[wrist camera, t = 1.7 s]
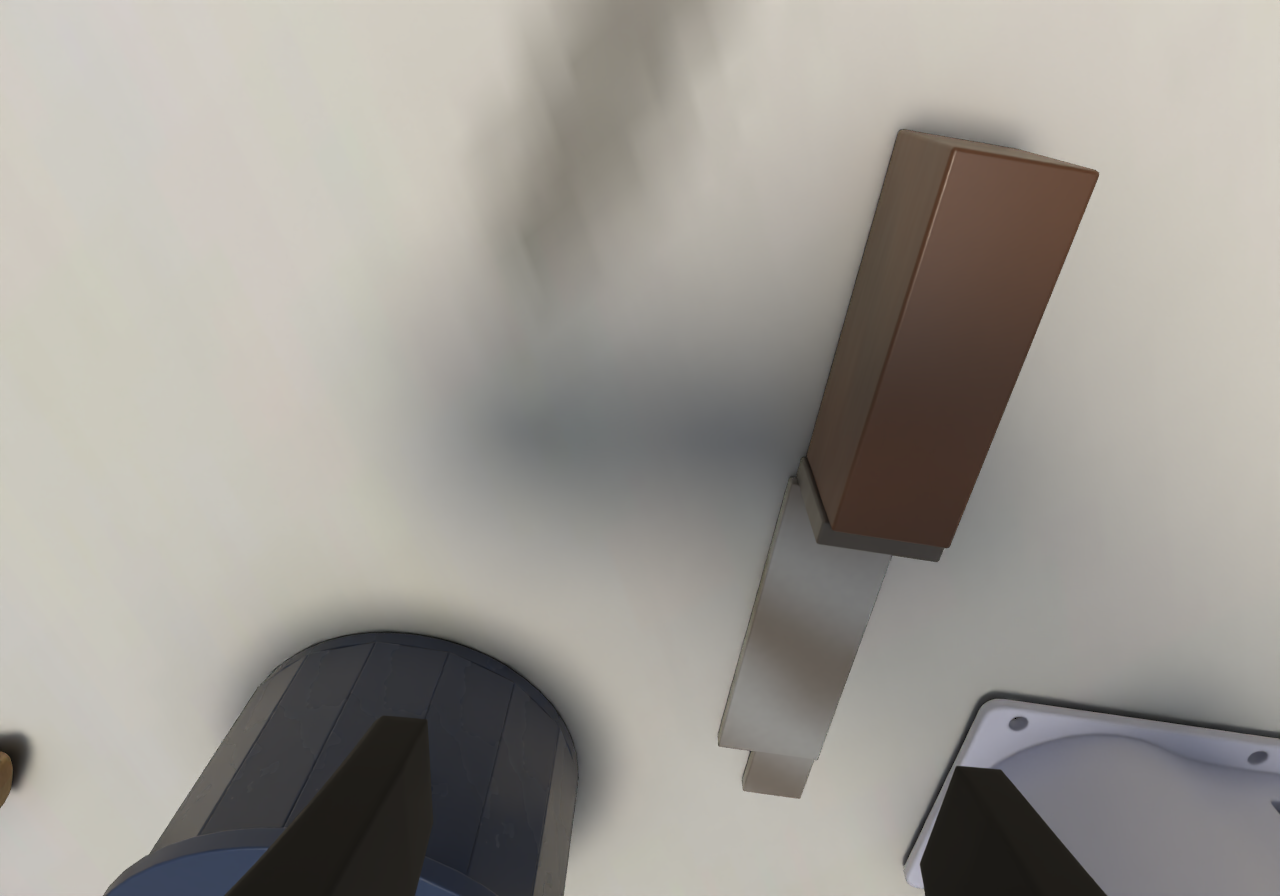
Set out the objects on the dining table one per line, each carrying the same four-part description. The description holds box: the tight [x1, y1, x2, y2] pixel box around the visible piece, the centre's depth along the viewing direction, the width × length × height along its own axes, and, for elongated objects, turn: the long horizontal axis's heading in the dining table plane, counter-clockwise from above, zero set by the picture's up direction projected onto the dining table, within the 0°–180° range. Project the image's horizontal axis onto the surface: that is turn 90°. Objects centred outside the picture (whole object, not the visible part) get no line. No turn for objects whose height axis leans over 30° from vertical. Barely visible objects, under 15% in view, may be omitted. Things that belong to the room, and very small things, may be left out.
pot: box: [150, 633, 579, 896], centre depth 21 cm, size 10×10×6 cm
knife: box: [718, 129, 1099, 799], centre depth 18 cm, size 19×3×3 cm, turn 171°
